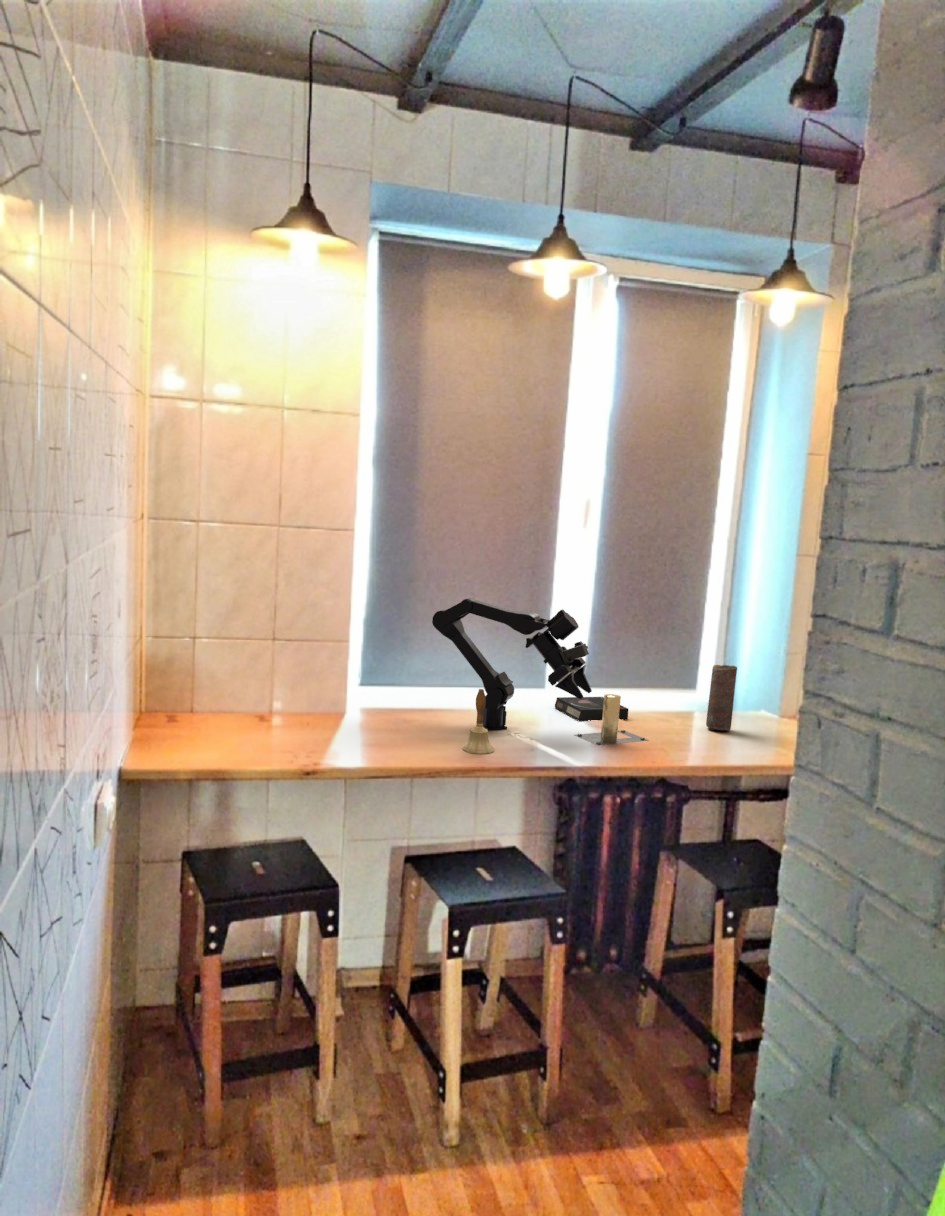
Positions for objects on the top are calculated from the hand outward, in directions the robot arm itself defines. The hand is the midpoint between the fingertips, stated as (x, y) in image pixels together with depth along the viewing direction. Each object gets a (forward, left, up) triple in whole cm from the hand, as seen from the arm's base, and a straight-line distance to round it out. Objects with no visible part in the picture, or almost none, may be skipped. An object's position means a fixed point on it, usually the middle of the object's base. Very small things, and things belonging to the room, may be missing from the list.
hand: (586, 695), depth 254 cm
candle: (+50, -1, -13) cm, 52 cm away
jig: (+7, -3, -13) cm, 16 cm away
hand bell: (-33, +2, -13) cm, 35 cm away
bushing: (+4, -6, -12) cm, 14 cm away
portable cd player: (+23, +27, -14) cm, 38 cm away
